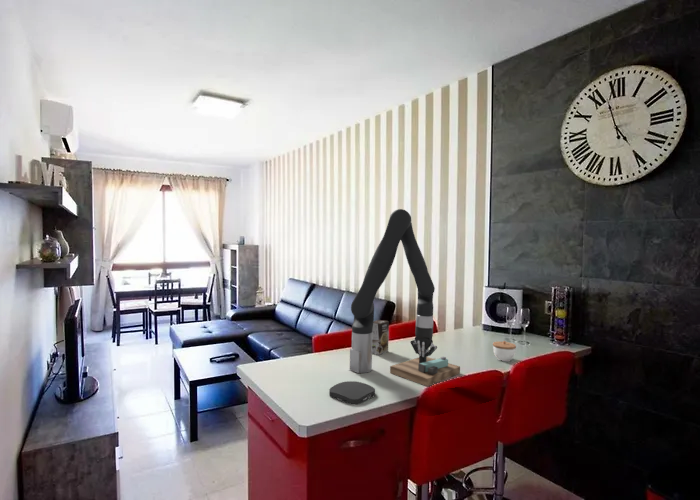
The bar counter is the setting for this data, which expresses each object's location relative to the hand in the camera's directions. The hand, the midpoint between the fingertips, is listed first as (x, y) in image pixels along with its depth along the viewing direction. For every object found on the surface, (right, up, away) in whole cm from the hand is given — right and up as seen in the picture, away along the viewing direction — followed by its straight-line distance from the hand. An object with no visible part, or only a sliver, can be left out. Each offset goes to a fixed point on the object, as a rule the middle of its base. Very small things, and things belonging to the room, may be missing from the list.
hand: (422, 364), depth 169 cm
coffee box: (-17, -4, +33) cm, 37 cm away
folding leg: (+5, -1, -1) cm, 5 cm away
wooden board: (+2, -5, +2) cm, 5 cm away
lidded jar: (+45, -5, +24) cm, 52 cm away
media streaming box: (-31, -5, -23) cm, 39 cm away
